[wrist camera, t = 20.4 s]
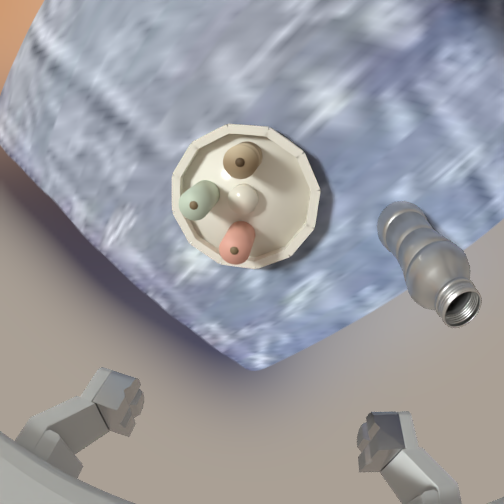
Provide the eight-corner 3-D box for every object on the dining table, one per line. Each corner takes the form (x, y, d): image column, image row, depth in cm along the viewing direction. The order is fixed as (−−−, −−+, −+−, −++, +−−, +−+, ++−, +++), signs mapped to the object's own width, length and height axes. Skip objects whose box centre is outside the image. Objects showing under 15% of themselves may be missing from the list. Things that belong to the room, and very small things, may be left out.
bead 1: (192, 178, 37) (178, 188, 33) (220, 181, 37) (209, 191, 32) (192, 206, 39) (178, 219, 34) (219, 208, 38) (208, 222, 34)
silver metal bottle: (426, 223, 36) (503, 307, 18) (389, 253, 39) (442, 354, 21) (402, 186, 35) (483, 254, 17) (363, 218, 37) (412, 310, 19)
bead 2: (233, 140, 35) (223, 144, 30) (263, 142, 34) (258, 146, 30) (231, 169, 36) (222, 178, 32) (261, 172, 36) (256, 180, 31)
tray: (179, 121, 35) (173, 122, 33) (325, 133, 34) (327, 134, 32) (178, 250, 43) (173, 257, 41) (306, 267, 41) (306, 275, 39)
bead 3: (228, 219, 39) (219, 234, 34) (256, 222, 39) (251, 238, 34) (227, 245, 40) (218, 262, 36) (254, 248, 40) (248, 266, 36)
